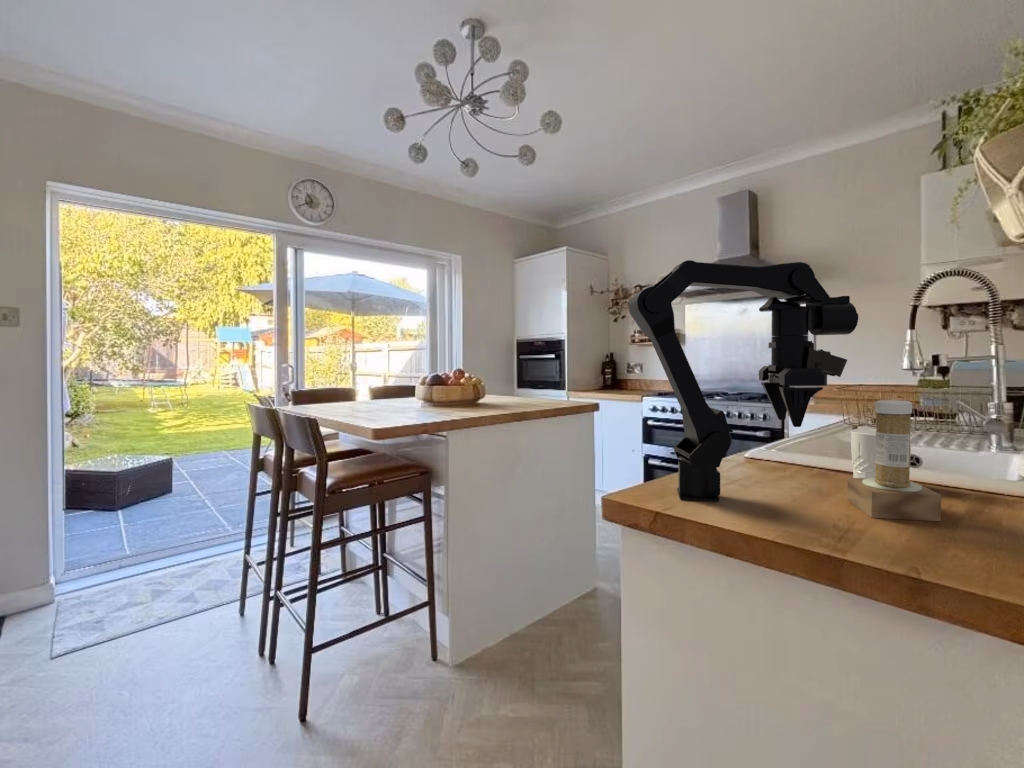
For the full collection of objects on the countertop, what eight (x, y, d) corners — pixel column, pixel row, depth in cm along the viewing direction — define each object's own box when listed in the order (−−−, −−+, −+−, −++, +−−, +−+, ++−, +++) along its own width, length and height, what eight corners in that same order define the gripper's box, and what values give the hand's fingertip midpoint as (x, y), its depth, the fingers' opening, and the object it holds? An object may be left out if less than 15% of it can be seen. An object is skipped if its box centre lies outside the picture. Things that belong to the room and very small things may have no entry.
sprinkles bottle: (909, 483, 78) (911, 400, 77) (910, 490, 75) (912, 402, 74) (874, 479, 81) (875, 399, 80) (873, 485, 77) (874, 401, 77)
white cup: (850, 476, 100) (850, 427, 100) (899, 481, 96) (900, 430, 95) (849, 484, 94) (850, 433, 93) (901, 490, 89) (902, 436, 89)
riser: (871, 517, 75) (871, 490, 75) (847, 500, 84) (847, 475, 84) (940, 521, 73) (941, 492, 73) (908, 503, 82) (909, 478, 82)
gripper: (865, 332, 76) (863, 431, 77) (821, 336, 94) (820, 416, 95) (785, 334, 79) (785, 430, 80) (758, 338, 97) (758, 416, 98)
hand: (789, 423), depth 88 cm, fingers open, 9 cm apart
